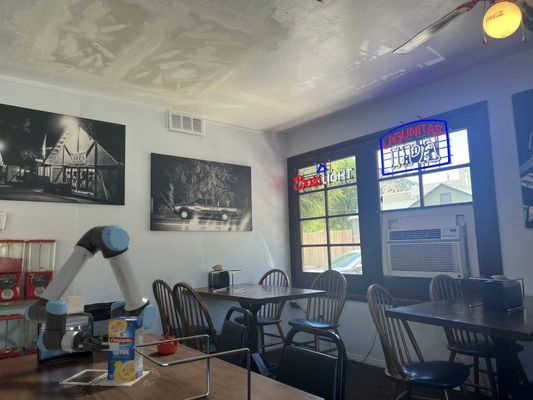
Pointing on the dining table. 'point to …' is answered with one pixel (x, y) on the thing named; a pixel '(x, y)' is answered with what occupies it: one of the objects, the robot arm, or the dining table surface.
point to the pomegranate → (167, 346)
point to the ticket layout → (104, 380)
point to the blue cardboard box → (125, 348)
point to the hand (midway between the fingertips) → (127, 342)
